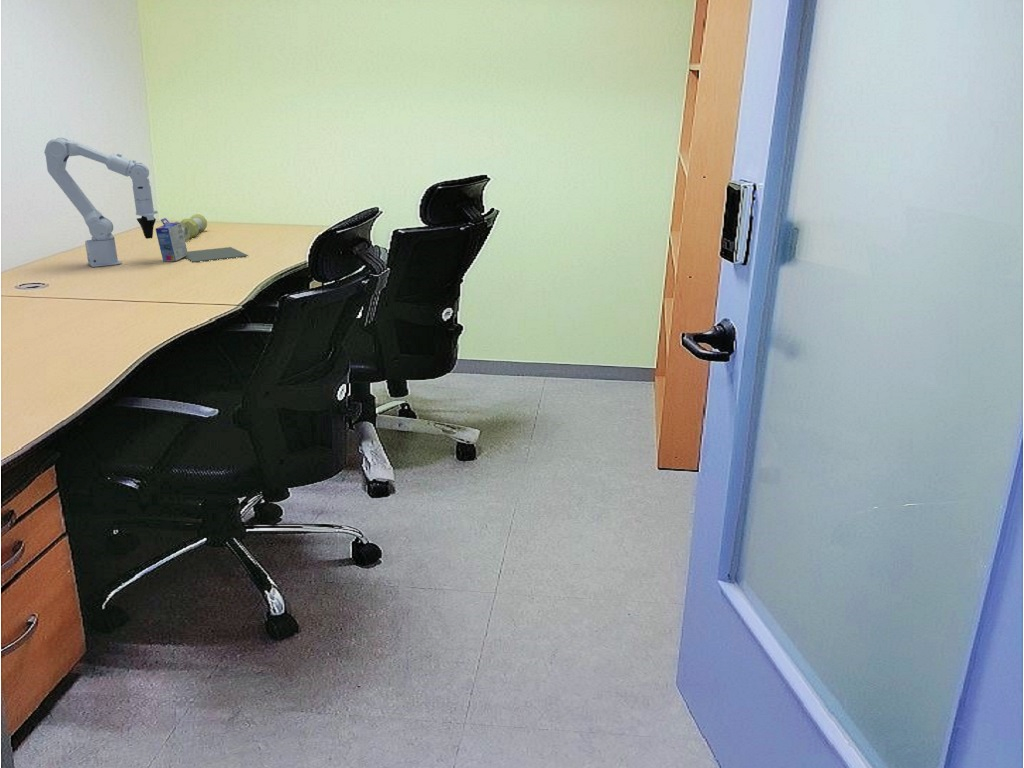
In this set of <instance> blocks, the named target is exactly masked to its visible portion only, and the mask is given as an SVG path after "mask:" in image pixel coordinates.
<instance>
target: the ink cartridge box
mask: <svg viewBox="0 0 1024 768" xmlns="http://www.w3.org/2000/svg"><path fill="white" fill-rule="evenodd" d="M160 221H161V224H162V225H160V226H158V227H156V228H155V234H156V236H157V237H156V238H157V242H158V245H159V246H158V247H159V249H160V255H161V258H162V262H176V261H179V260H181V259H182V258H184V257H185V256H187V255H188V248H187V244H186V243H187V242H186V243H185V241H186V240H185V238H184V234H183V229H182V225H181V223H180V222H179V223H175V222H170V221H169V220H168V218H166V217H164V218H161V219H160Z"/></svg>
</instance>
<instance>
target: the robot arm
mask: <svg viewBox="0 0 1024 768" xmlns="http://www.w3.org/2000/svg"><path fill="white" fill-rule="evenodd" d="M43 153H44V155H45V160H46V161H45V162H46V170H47V172H48V174H49V175H50V177H51V178H52V179H53V180H54V182H55V183H56V184H57V185H58V186H59V188H60V189H61V190H62V192H63V193H64V195H66V196H67V198H68V199H69V201H70V202H71V204H72V205H73V206H74V207H75V208H76V210H77V211H78V212H79V213H80V214H81V216H82V217H83V219H84V223H85V224H86V225H87V227H88V232H89V234H90V235H91V239H88V240H85V252H86V257H87V264H88V265H90V266H91V267H92V268H96V267H105V266H114V265H122V262H121V261H120V260H119V259H118V253H117V247H116V246H117V245H116V240H115V236H114V235H113V234H112V232H113V231H114V225H113V222H112V220H110V219H108V218H107V217H106V216H104V215H103V213H101V212H100V211H99V210H98V209H97V208H96V207H95V206H94V204H93V203H92V202H91V200H90V199H89V198H88V197H87V195H86V194H85V193H84V191H83V190H82V189H81V187H80V186H79V185H78V184H77V182H76V181H75V180H74V178H73V176H71V175H70V174H69V172H68V171H67V170H66V167H67V163H68V160H69V157H75V156H76V157H77V156H82V157H84V158H87V159H90V160H92V161H95V162H99V163H101V164H104V165H105V166H106V168H107V169H108V171H112V172H114V173H116V174H119V175H122V176H124V177H130V179H131V180H132V193H133V198H134V205H135V206H134V207H135V215H136V216H141V217H139V218H136V220H137V222H138V224H139V225H140V228H141V230H142V234H143V236H144V238H145V239H153V236H154V226H155V223H156V221H157V219H156V218H155V214H156V215H157V214H159V213H158V211H157V210H154V203H153V195H152V188H151V185H150V184H151V183H150V179H149V176H150V170H149V167H148V166H147V165H146V164H144V163H142V162H137V160H134V159H133V160H132V159H129V158H126V157H124V156H122V154H121V153H117V154H116V153H111V154H109V155H108V154H106V153H104V152H101V151H99V150H97V149H94V148H92V147H90V146H88V145H86V144H83V143H81V142H78V141H75V140H71V139H69V140H68V138H64V137H57V138H55V139H53V138H52V139H50V140H49V141H47V143H46V145H45V149H44V152H43Z"/></svg>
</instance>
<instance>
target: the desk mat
mask: <svg viewBox="0 0 1024 768" xmlns="http://www.w3.org/2000/svg"><path fill="white" fill-rule="evenodd" d="M187 252H188V255H187V256H185V258H184V259H186V260H187V259H188V261H189V260H190V261H189V262H191V261H192V262H191V263H193V262H196V263H201V262H200V261H205V262H210V261H209V260H214V261H218V260H217V259H223V260H228V259H227V258H232V259H237V258H236V257H241V258H247V257H246V256H248V257H249V254H247V253H244V252H242V251H240V250H237V248H233V247H232V246H228V247H220V248H219V247H218V248H209V249H200V250H191V251H189V250H187Z"/></svg>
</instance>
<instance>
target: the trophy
mask: <svg viewBox="0 0 1024 768" xmlns="http://www.w3.org/2000/svg"><path fill="white" fill-rule="evenodd" d="M174 223H181V225H182V229H183V234H184V238H185V242H186V243H188V242H189V241H188V240H190V239H191V238H195V237H196V236H197V235H198V233H199V232H200V231H201V232H204V231H205V230H206V229H207V227H208V222H207V219H206V218H205V216H203V215H201V214H193V215H192V216H190V218H184V219H182V220H181V221H174Z"/></svg>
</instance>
